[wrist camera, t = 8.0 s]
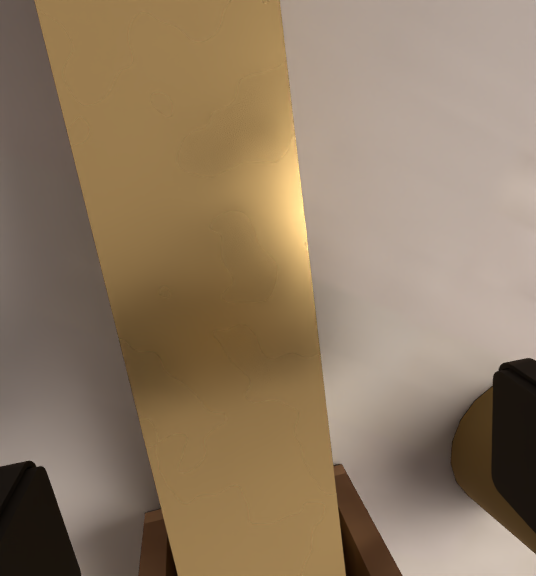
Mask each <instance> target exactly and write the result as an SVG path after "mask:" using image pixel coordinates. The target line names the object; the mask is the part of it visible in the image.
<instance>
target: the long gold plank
mask: <svg viewBox="0 0 536 576" xmlns="http://www.w3.org/2000/svg"><path fill="white" fill-rule="evenodd" d="M34 1H35V5H36V9H37V13H38V17H39V21H40V25H41V29H42V33H43V37H44V41H45V45H46V49H47V53H48V57H49V61H50V65H51V69H52V73H53V77H54V81H55V85H56V89H57V93H58V97H59V101H60V105H61V109H62V113H63V117H64V121H65V125H66V129H67V133H68V137H69V141H70V145H71V149H72V153H73V157H74V161H75V165H76V169H77V173H78V177H79V181H80V185H81V189H82V193H83V197H84V201H85V205H86V209H87V213H88V217H89V221H90V225H91V229H92V233H93V237H94V241H95V245H96V249H97V253H98V257H99V261H100V266H101V270H102V274H103V278H104V282H105V286H106V290H107V294H108V298H109V302H110V306H111V310H112V314H113V318H114V322H115V326H116V330H117V334H118V338H119V342H120V346H121V350H122V354H123V358H124V362H125V366H126V370H127V374H128V378H129V382H130V386H131V390H132V394H133V398H134V402H135V406H136V410H137V414H138V418H139V422H140V426H141V430H142V434H143V438H144V442H145V446H146V450H147V454H148V458H149V462H150V466H151V470H152V474H153V478H154V482H155V486H156V490H157V494H158V498H159V502H160V506H161V510H162V514H163V518H164V522H165V526H166V530H167V534H168V538H169V542H170V546H171V550H172V554H173V558H174V562H175V566H176V570H177V574H178V576H346V572H345V564H344V555H343V546H342V538H341V529H340V520H339V512H338V503H337V494H336V486H335V477H334V468H333V460H332V451H331V442H330V434H329V425H328V416H327V408H326V399H325V390H324V382H323V373H322V364H321V356H320V347H319V338H318V330H317V321H316V312H315V304H314V295H313V286H312V278H311V269H310V260H309V252H308V243H307V234H306V226H305V217H304V208H303V199H302V191H301V182H300V173H299V165H298V156H297V147H296V139H295V130H294V121H293V113H292V104H291V95H290V87H289V78H288V69H287V61H286V52H285V43H284V35H283V26H282V17H281V9H280V0H34Z"/></svg>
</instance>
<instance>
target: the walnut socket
mask: <svg viewBox="0 0 536 576" xmlns="http://www.w3.org/2000/svg"><path fill="white" fill-rule="evenodd" d="M333 468H334V477H335V486H336V494H337V503H338V512H339V520H340V529H341V538H342V546H343V555H344V564H345V572H346V576H402V574H401V572H400V570H399V568H398V567H397V565H396V563H395V561H394V559H393V557H392V556H391V554H390V552H389V550H388V548H387V546H386V545H385V543H384V541H383V539H382V537H381V535H380V533H379V532H378V530H377V528H376V526H375V524H374V522H373V521H372V519H371V517H370V515H369V513H368V511H367V510H366V508H365V506H364V504H363V502H362V500H361V499H360V497H359V495H358V493H357V491H356V489H355V487H354V486H353V484H352V482H351V480H350V478H349V476H348V475H347V473H346V471H345V469H344V467H343V465H342V464H340V465H336V466H333ZM138 576H178V574H177V570H176V566H175V562H174V558H173V554H172V550H171V546H170V542H169V538H168V534H167V530H166V526H165V522H164V518H163V514H162V510H161V509H159V510H155V511H151V512H147V513H145V519H144V528H143V538H142V547H141V556H140V566H139V575H138Z"/></svg>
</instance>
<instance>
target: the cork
mask: <svg viewBox="0 0 536 576" xmlns="http://www.w3.org/2000/svg"><path fill="white" fill-rule="evenodd" d="M492 407H493V386H492V387H491V388H490V389H489V390H487V391H486V392H485V393H484V394H483V395H481V396H480V397H479V398H478V399H476V400H475V402H474V403H473V404H472V406H471V407H470V408H469V410H468V411H467V412H466V414H465V415H464V417H463V418H462V419H461V421H460V423H459V426H458V428H457V431H456V434H455V436H454V439H453V441H452V453H451V466H452V469H453V472H454V476H455V479H456V482H457V483H458V484H459V485H460V487H461V488H462V489H463V490H464V491H465V493H466V494H467V495H468V496H469V497H470V498H471V499H473V500H474V501H475V502H476V503H477V504H478V505H480V506H481V507H482V508H483V509H484V510H485V511H486V512H488V513H489V514H490V515H491V516H492V517H493V518H495V519H496V520H497V521H498V522H499V523H500V524H502V525H503V526H504V527H505V528H506V529H507V530H509V531H510V532H511V533H512V534H513V535H514V536H516V537H517V538H518V539H519V540H520V541H521V542H522V543H524V544H525V545H526V546H527V547H528V548H529V549H531V550H532V551H533V552H534V553H535V554H536V534H535V532H534V531H533V530H532V529H531V528H530V527H529V526H528V525H527V524H526V522H525V521H524V520H523V519H522V518H521V517H520V516H519V515H518V514H517V512H516V511H515V510H514V509H513V508H512V507H511V506H510V505H509V503H508V502H507V501H506V500H505V499H504V498H503V497H502V496H501V495H500V493H499V492H498V491H497V489H496V488H495V486H494V483H493V480H492V476H491V460H492Z"/></svg>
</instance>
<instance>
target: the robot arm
mask: <svg viewBox="0 0 536 576" xmlns="http://www.w3.org/2000/svg"><path fill="white" fill-rule="evenodd" d="M491 476H492V480H493V483H494V486H495V488H496V489H497V491H498V492H499V493H500V495H501V496H502V497H503V498H504V499H505V500H506V501H507V502H508V503H509V505H510V506H511V507H512V508H513V509H514V510H515V511H516V512H517V514H518V515H519V516H520V517H521V518H522V519H523V520H524V521H525V522H526V524H527V525H528V526H529V527H530V528H531V529H532V530H533V531H534V532H535V534H536V361H535V360H533V359H531V358H526V359H521V360H516V361H511V362H506V363H503V364H502V365H500V367H499V371H497V372H495V374H494V376H493V407H492V460H491ZM0 576H81V572H80V568H79V565H78V562H77V559H76V556H75V553H74V551H73V548H72V545H71V542H70V539H69V536H68V533H67V530H66V527H65V524H64V521H63V518H62V515H61V512H60V510H59V507H58V504H57V501H56V498H55V495H54V492H53V489H52V486H51V483H50V480H49V477H48V474H47V472H46V470H45V468H44V467H42V466H39V467H36V465H35V464H34V463H33V462H32V461H25V462H21V463H16V464H11V465H6V466H1V467H0Z"/></svg>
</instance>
